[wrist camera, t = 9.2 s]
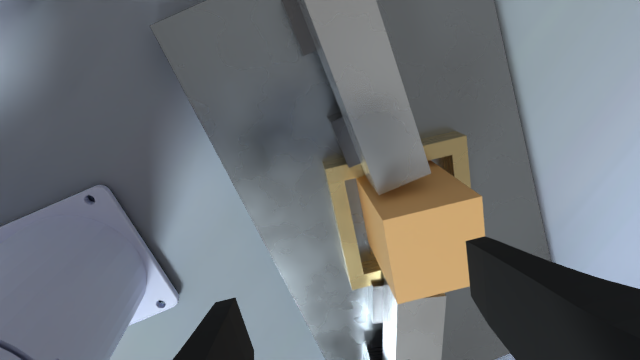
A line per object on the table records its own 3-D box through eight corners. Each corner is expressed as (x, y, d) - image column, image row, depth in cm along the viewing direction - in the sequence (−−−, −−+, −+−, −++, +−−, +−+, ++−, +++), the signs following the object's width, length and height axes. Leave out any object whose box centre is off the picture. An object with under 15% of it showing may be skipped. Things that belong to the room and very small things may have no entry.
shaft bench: (352, 402, 26) (367, 477, 21) (156, 27, 17) (112, 17, 13) (555, 320, 26) (616, 379, 21) (457, -107, 17) (524, -167, 12)
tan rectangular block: (437, 225, 21) (488, 281, 16) (368, 242, 21) (397, 304, 16) (428, 158, 20) (481, 196, 15) (355, 176, 20) (382, 220, 15)
